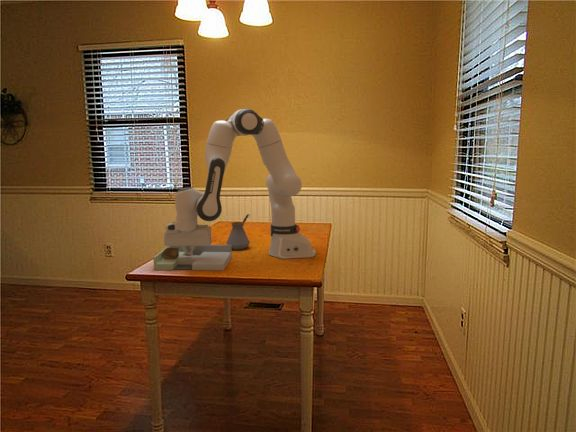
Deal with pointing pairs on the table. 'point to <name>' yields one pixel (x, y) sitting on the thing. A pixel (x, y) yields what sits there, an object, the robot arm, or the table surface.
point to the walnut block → (171, 252)
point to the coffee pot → (238, 236)
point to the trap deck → (196, 258)
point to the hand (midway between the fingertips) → (188, 255)
